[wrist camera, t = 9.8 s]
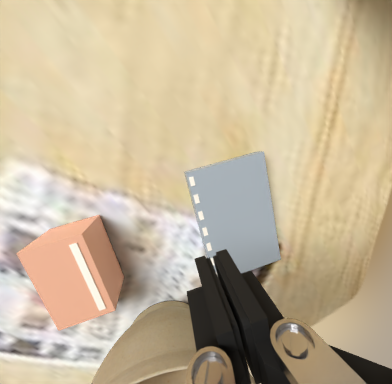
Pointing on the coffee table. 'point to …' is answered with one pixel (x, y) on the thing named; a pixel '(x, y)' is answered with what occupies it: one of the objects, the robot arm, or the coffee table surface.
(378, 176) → the coffee table surface
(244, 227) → the board
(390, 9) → the coffee table surface
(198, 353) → the robot arm
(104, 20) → the coffee table surface
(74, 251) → the peach rectangular block
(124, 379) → the planter bowl
